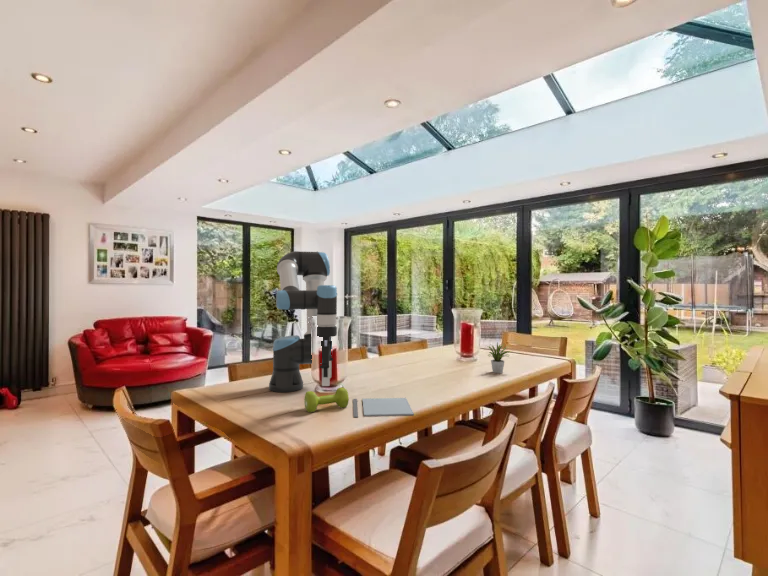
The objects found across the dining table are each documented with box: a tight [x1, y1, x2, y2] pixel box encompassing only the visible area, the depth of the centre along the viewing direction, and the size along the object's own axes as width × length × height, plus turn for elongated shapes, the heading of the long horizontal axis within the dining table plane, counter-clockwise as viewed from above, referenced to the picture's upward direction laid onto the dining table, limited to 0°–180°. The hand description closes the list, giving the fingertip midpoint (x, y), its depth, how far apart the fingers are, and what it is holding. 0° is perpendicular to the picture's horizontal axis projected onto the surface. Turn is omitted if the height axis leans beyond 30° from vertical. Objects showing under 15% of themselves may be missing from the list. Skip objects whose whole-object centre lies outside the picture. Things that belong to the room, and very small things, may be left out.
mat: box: [361, 397, 415, 417], centre depth 153 cm, size 18×20×1 cm
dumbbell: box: [303, 386, 350, 413], centre depth 151 cm, size 16×8×7 cm, turn 116°
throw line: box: [352, 398, 359, 419], centre depth 152 cm, size 2×22×1 cm, turn 5°
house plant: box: [486, 342, 512, 374], centre depth 214 cm, size 14×14×16 cm
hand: (326, 381), depth 150 cm, fingers open, 13 cm apart
